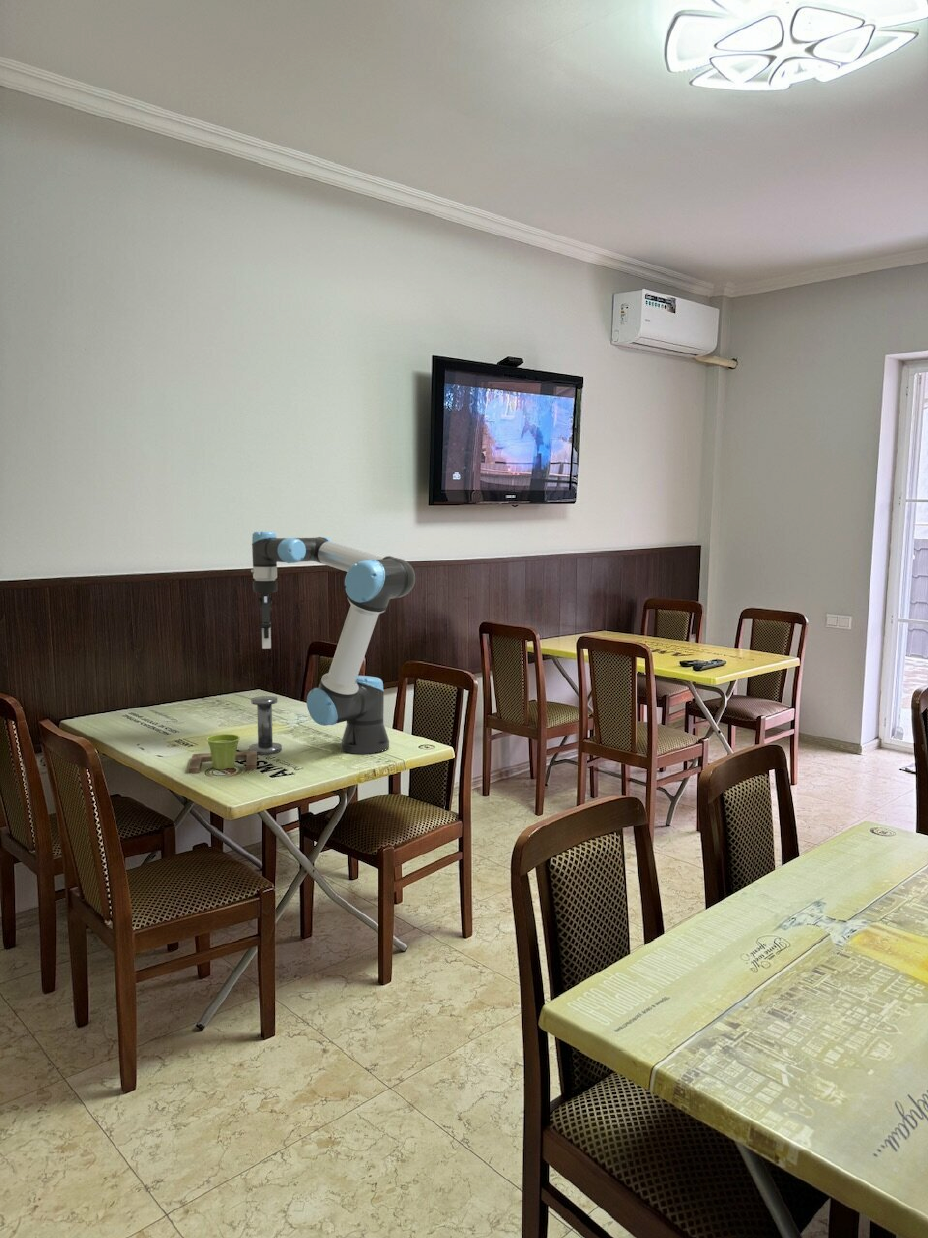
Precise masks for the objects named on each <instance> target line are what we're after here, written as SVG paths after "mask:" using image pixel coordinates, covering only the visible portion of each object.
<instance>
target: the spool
mask: <svg viewBox="0 0 928 1238" xmlns="http://www.w3.org/2000/svg"><path fill="white" fill-rule="evenodd" d="M278 698H279V697H277V696H272V695H264V696H263V695H262V696H254V697H252V698H250V700H251V705H255V706H256V708H257V710H256V711H257V712H256V714H257V742H256V743H254V744H251V745H249V747H248V751H257V756H269V755H275V754H276V755H277V754H279V753H281V752H282V751H283V748H282V744H281V743H280V742H279V743H278V742H273V708H272V707H273V705H275V704H277V703H278V702H279V700H278Z"/></svg>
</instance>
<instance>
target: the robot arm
mask: <svg viewBox="0 0 928 1238" xmlns="http://www.w3.org/2000/svg"><path fill="white" fill-rule="evenodd" d="M251 538H252V542H251V546H252V549H251V551H252V569H251V570H250V572H251V573H252V576H253V577H252V578H253V579H254V580H253V582H252V583H253V584H252V589H253V593H261V597H259V601H258V602H259V608H260V609H259V610H260V611H261V624H260V625H259V629H261V646H262V647H261V648H262V650H263V649H264V650H266V649H272V639H271V638H272V637H271V634H272V632H271V628H272V627H271V623H273V619H271V611H272V603H273V597H270V596H271V595H270V593H276V592H278V581H277V580H276V579H277V578H278V565H277V562H278V563H279V562H280V563H288V564H294V563H300V562H315V563H316V562H317V563H319V564H322V565H325V566H329V567H332V568H335V569H338V570H341V571H344V572H347V573H346V575H345V578H344V586H345V592H346V594H347V600H348V602H349V604H350V607H349V610H348V613H347V616H346V618H345V621H344V625H343V626H342V627H343V628H342V631H341V634H340V636H339V639H338V643H337V646H336V650H335V653H334V656H333V659H332V661H331V665H330V667H329V670H328V673H327V672H326V673H325V674H323V675H322V676H321V679H320V682H319V684H318V687H314V688H312V689H311V690H310V691H309V692H308V694H307V696H306V708H307V710H308V713H309V715H310V717H311V718H312V720H313V721H314V722H315V723H316V724H318V725H320V726H325V727H326V726H334V725H336V724H339V723H343V722H346V726H345V729H344V732H343V736H342V739H341V743H340V746H341V750H342V751H343V752H346V753H349V754H359V755H368V754H369V753H371V754H376V753H375V752H378V753H380V752H379V751H382V750H385V749H387V748H390V740H389V737H388V733H387V731H386V727H385V725H384V723H385V722H384V698H385V697H384V693H385V690H384V683H383V680H382V679H381V678H379V677H376V676H367V675H359V674H360V670H361V668H362V665H363V662H364V659H365V657H366V653H367V650H368V647H369V644H370V641H371V639H372V636H373V632H374V629H375V627H376V624H377V621H378V618H379V615H380V614H383V613H385V612H386V610H387V607H388V605H389V602H390V600H392V599H398V598H399V599H400V598H402V597H405V596H406V595H408V594H409V593H410V592H411V591H412V589H413V588H414V586H415V583H416V573H415V570H414V568H413V566H412V565H411V564H410V563H409V562H408V561H406V560H404V559H402V558H397V557H393V556H390V555H388V556H384V557H382V556H379V555H376V554H372V553H369V552H366V551H362V550H358V549H355V548H352V547H349V546H346V545H342V544H339V543H337V542H333V541H332V539H331V538H329V537H322V536H318V537H317V536H316V537H279V538H278V537H277V533H276V532H275V531H254V532H253V533H252V537H251ZM387 750H388V749H387ZM385 751H386V750H385Z"/></svg>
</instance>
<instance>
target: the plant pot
mask: <svg viewBox="0 0 928 1238" xmlns="http://www.w3.org/2000/svg"><path fill="white" fill-rule="evenodd" d="M240 739H241V738H240V736H239V735H236V734H231V733H229V734H228V733H227V734H226V733H225V734H224V733H223V734H215V735H212V736H208V737H207V738H206V741H207V742H208V746H209V752H210V753H211V757H212V761H211V762H212V768H213V769H216V770H226V769H232V768H235V766H236V765H235V763H236V760H235V757H236V752H237V748H238V743H239V740H240Z"/></svg>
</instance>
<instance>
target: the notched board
mask: <svg viewBox="0 0 928 1238" xmlns="http://www.w3.org/2000/svg"><path fill="white" fill-rule="evenodd" d="M241 760H242V761H244V760H245V771H255V770H254V769H257V768H258V767H257V765H258V755H257V751H249V750H246V751H244V750H243V751H236V757H235V761H241ZM206 762H212V757H211V752H209V753H208V752H207V753H193V754H192V756H191V758H190V762H189V765H188V767H187V769H188V770H187V773H192V774H199V773H201V768H202V764H203V763H206Z"/></svg>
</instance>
